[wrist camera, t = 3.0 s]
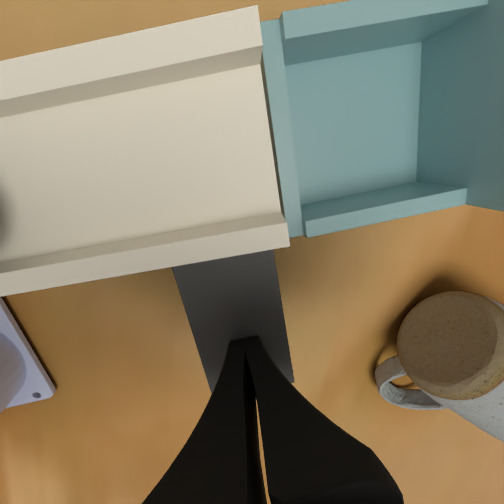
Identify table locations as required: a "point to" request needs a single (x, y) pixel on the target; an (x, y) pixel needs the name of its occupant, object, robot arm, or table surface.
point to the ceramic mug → (451, 359)
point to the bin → (384, 110)
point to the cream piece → (149, 174)
